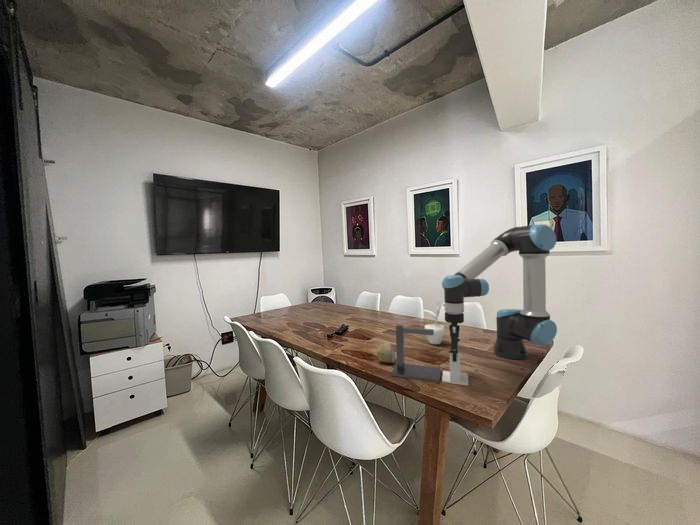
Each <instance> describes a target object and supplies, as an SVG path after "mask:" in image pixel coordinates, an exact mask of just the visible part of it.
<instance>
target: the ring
mask: <svg viewBox="0 0 700 525" xmlns="http://www.w3.org/2000/svg"><path fill="white" fill-rule="evenodd" d="M449 371H450V381H453V382H460V373H461V352H458V369H451V353H449Z"/></svg>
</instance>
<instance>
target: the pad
mask: <svg viewBox="0 0 700 525" xmlns="http://www.w3.org/2000/svg"><path fill="white" fill-rule="evenodd" d="M441 379H442V380H441V382H442V383H445V384H446V383H447V384H454V385H462V386H469V375H468V373H465V372H460V382H453V381H450V370H449V371H448V370H443V371H442V378H441Z"/></svg>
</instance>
